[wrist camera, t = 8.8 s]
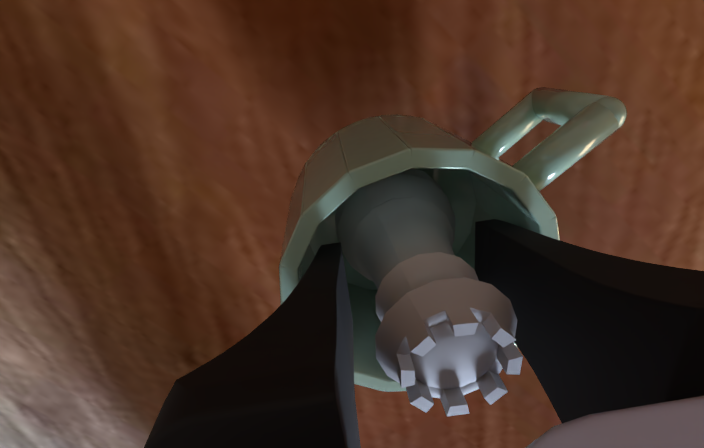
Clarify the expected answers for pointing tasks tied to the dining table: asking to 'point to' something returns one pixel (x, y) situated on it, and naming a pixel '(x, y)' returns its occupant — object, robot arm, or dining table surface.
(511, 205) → the pale green mug
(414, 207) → the rook chess piece
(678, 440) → the robot arm
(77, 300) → the dining table surface
